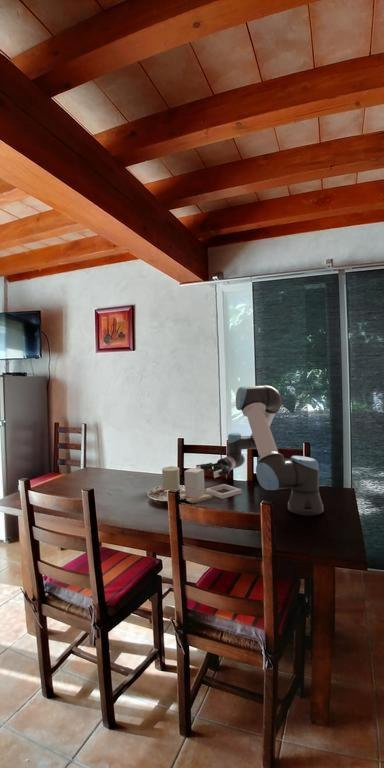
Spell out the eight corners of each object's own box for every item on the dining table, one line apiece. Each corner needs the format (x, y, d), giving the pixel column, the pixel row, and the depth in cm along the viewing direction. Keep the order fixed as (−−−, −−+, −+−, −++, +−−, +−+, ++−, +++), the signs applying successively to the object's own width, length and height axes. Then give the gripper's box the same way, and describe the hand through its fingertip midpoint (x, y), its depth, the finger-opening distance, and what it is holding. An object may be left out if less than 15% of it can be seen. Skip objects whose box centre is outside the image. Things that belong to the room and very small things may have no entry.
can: (181, 487, 213) (180, 465, 213) (178, 492, 204) (178, 469, 203) (164, 487, 214) (163, 465, 214) (161, 492, 205) (160, 469, 204)
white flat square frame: (241, 493, 200) (241, 489, 200) (222, 498, 193) (222, 494, 193) (224, 487, 211) (224, 483, 211) (205, 492, 203) (205, 488, 203)
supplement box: (205, 494, 197) (204, 469, 197) (197, 498, 191) (196, 472, 190) (192, 492, 201) (191, 467, 201) (184, 496, 195) (183, 470, 194)
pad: (212, 497, 195) (212, 495, 195) (192, 503, 187) (192, 501, 187) (197, 492, 204) (197, 490, 204) (178, 497, 197) (178, 495, 197)
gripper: (245, 474, 211) (224, 484, 194) (207, 468, 226) (184, 477, 209) (245, 460, 211) (223, 469, 194) (207, 455, 226) (183, 462, 209)
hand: (203, 473), depth 201 cm, fingers open, 13 cm apart
